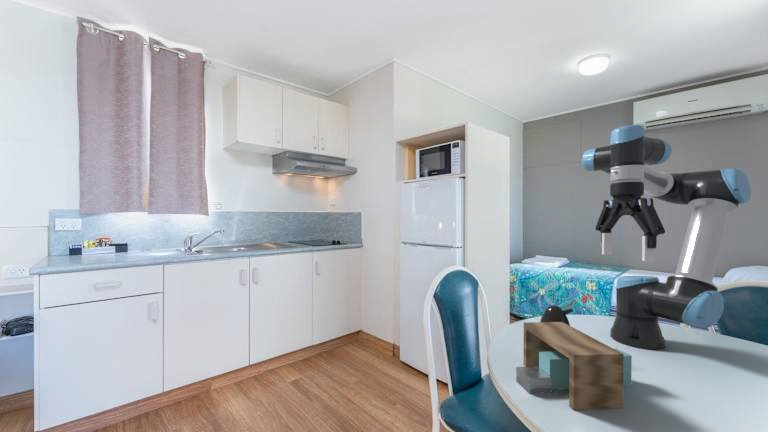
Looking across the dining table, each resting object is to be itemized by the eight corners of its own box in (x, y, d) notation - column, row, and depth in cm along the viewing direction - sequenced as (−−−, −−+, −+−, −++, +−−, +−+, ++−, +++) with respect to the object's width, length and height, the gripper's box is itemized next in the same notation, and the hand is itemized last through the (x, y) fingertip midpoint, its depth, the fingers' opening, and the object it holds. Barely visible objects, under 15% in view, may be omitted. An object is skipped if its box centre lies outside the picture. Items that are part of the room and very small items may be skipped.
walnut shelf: (561, 363, 94) (562, 321, 94) (623, 408, 72) (623, 354, 72) (523, 364, 93) (523, 322, 93) (573, 410, 71) (574, 355, 71)
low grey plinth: (537, 380, 84) (537, 365, 84) (551, 393, 79) (551, 377, 79) (516, 382, 84) (516, 367, 84) (529, 394, 78) (529, 378, 78)
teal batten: (616, 377, 87) (616, 348, 87) (631, 386, 82) (631, 355, 82) (538, 381, 84) (539, 351, 84) (549, 391, 80) (549, 359, 80)
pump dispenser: (578, 360, 96) (579, 311, 96) (542, 357, 98) (542, 308, 98) (566, 346, 106) (567, 302, 106) (533, 344, 108) (534, 300, 108)
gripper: (582, 186, 100) (582, 252, 100) (655, 176, 75) (655, 264, 75) (604, 186, 101) (604, 252, 101) (684, 176, 76) (684, 264, 76)
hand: (626, 257), depth 88 cm, fingers open, 13 cm apart
